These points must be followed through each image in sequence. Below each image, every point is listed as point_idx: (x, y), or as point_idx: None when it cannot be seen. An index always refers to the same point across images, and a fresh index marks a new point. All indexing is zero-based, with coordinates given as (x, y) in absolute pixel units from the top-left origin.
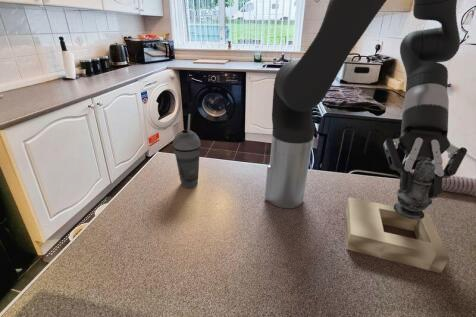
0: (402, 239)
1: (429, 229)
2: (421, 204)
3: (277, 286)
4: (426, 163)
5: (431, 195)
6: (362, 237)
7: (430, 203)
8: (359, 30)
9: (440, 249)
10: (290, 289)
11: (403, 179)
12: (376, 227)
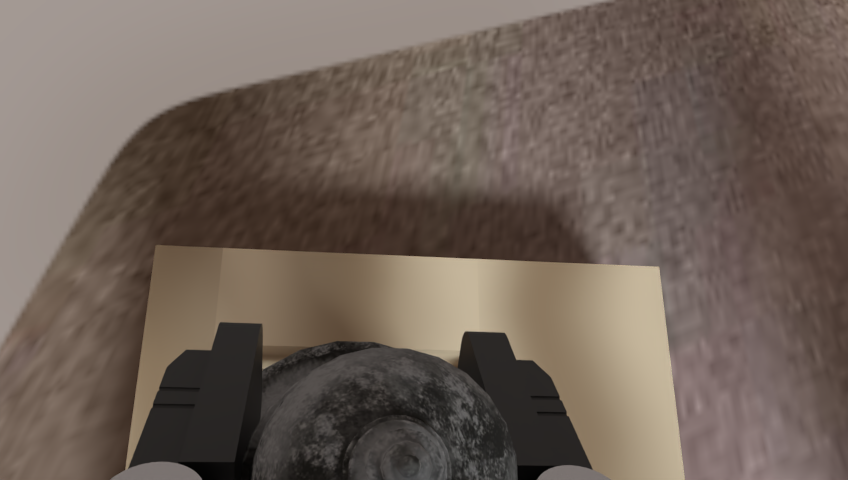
0: (382, 314)
1: None
2: (326, 352)
3: (813, 38)
4: (422, 414)
5: (260, 362)
6: (595, 266)
7: None
8: None
9: (179, 298)
10: (771, 38)
11: (561, 417)
12: None
